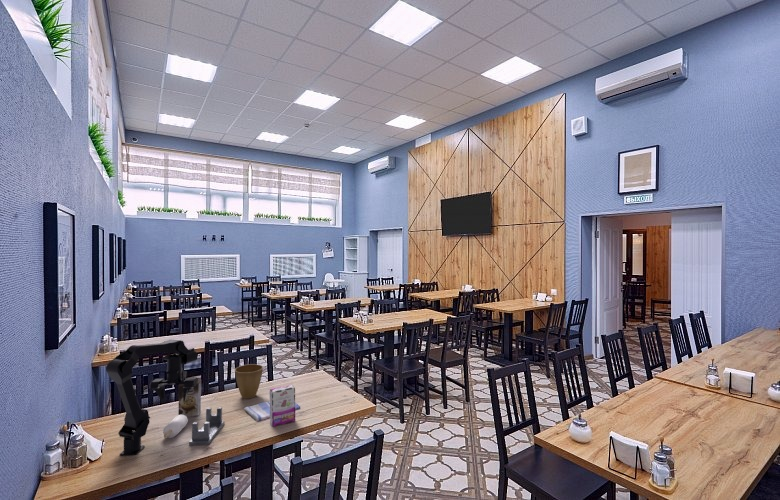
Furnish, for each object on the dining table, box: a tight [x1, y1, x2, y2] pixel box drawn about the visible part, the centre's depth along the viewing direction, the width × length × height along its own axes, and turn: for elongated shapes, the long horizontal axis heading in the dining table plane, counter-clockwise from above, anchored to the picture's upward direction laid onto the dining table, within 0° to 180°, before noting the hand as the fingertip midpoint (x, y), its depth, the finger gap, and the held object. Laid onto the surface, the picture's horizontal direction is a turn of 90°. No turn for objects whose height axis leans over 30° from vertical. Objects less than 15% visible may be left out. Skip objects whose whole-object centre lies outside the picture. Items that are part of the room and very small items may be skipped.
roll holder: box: [188, 406, 225, 447], centre depth 166 cm, size 19×8×8 cm, turn 5°
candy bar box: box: [269, 384, 296, 427], centre depth 178 cm, size 11×5×16 cm, turn 123°
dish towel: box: [244, 400, 301, 422], centre depth 192 cm, size 17×24×3 cm
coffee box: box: [177, 379, 202, 418], centre depth 186 cm, size 9×6×16 cm
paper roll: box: [162, 415, 189, 439], centre depth 167 cm, size 18×6×6 cm, turn 5°
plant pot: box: [234, 363, 264, 400], centre depth 209 cm, size 15×15×16 cm
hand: (173, 401), depth 170 cm, fingers open, 9 cm apart
